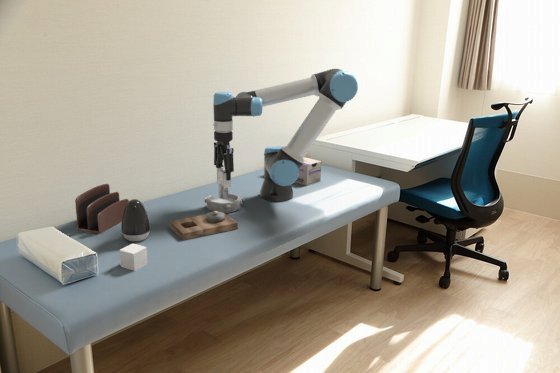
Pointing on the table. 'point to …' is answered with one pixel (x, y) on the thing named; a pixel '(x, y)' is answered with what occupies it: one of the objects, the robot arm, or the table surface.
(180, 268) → the table surface
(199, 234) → the plate
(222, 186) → the pin
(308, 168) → the surgical sutures box
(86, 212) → the letter holder
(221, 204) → the dish
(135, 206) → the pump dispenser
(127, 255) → the white cube
